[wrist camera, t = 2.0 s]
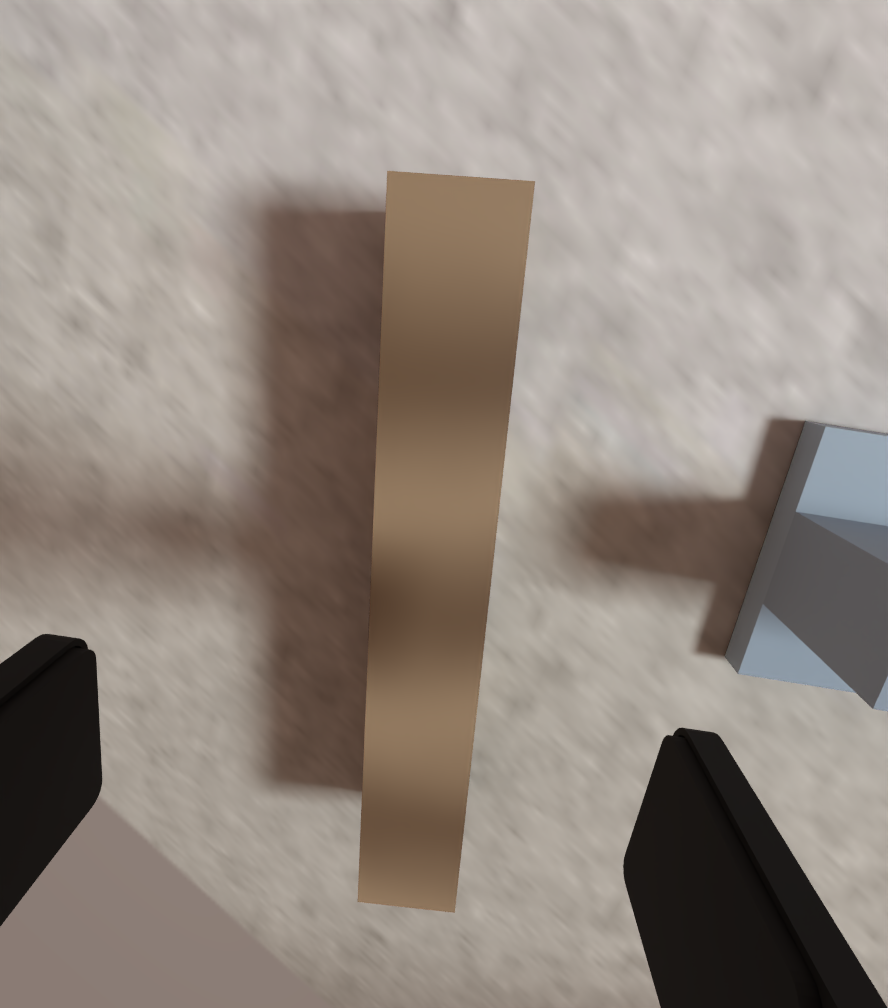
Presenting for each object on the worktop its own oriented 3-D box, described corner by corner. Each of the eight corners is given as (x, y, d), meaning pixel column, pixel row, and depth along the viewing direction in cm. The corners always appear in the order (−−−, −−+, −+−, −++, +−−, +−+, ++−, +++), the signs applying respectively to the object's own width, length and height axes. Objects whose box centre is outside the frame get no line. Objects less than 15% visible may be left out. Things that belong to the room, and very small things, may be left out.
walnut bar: (459, 796, 22) (454, 912, 17) (381, 788, 22) (357, 901, 17) (518, 222, 16) (535, 181, 11) (411, 214, 16) (387, 171, 11)
